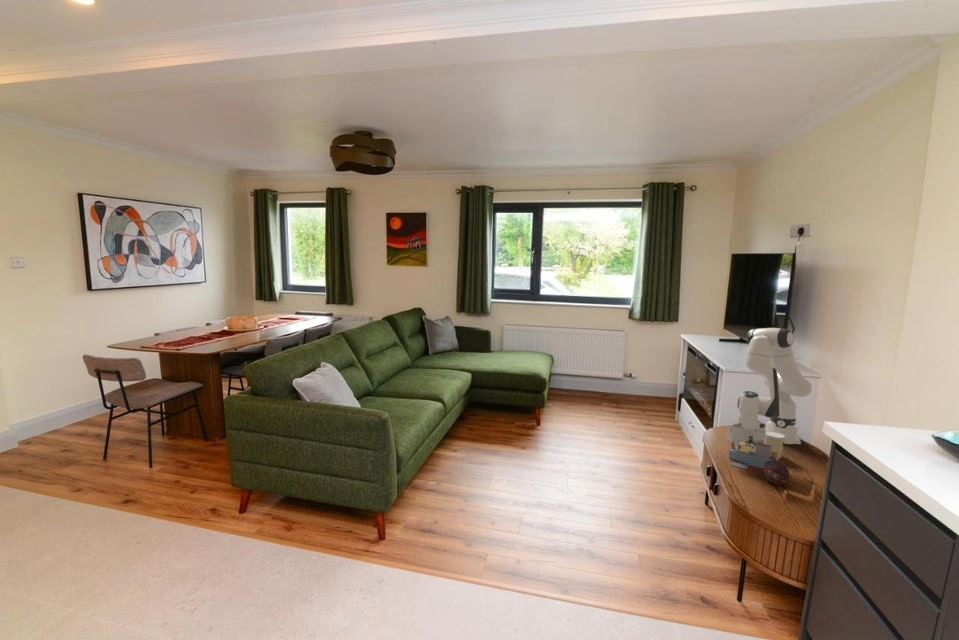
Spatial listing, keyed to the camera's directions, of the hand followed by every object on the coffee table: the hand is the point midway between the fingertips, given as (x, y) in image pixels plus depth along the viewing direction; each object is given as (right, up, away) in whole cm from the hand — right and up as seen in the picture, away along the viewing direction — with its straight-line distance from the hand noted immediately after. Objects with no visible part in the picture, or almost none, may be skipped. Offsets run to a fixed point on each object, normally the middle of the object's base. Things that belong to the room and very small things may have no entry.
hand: (744, 448), depth 218 cm
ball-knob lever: (+3, +3, -3) cm, 5 cm away
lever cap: (0, -1, 0) cm, 1 cm away
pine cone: (+1, -9, -21) cm, 23 cm away
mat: (-6, -7, -6) cm, 11 cm away
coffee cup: (+19, -6, +7) cm, 22 cm away
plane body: (+3, -7, -2) cm, 8 cm away
